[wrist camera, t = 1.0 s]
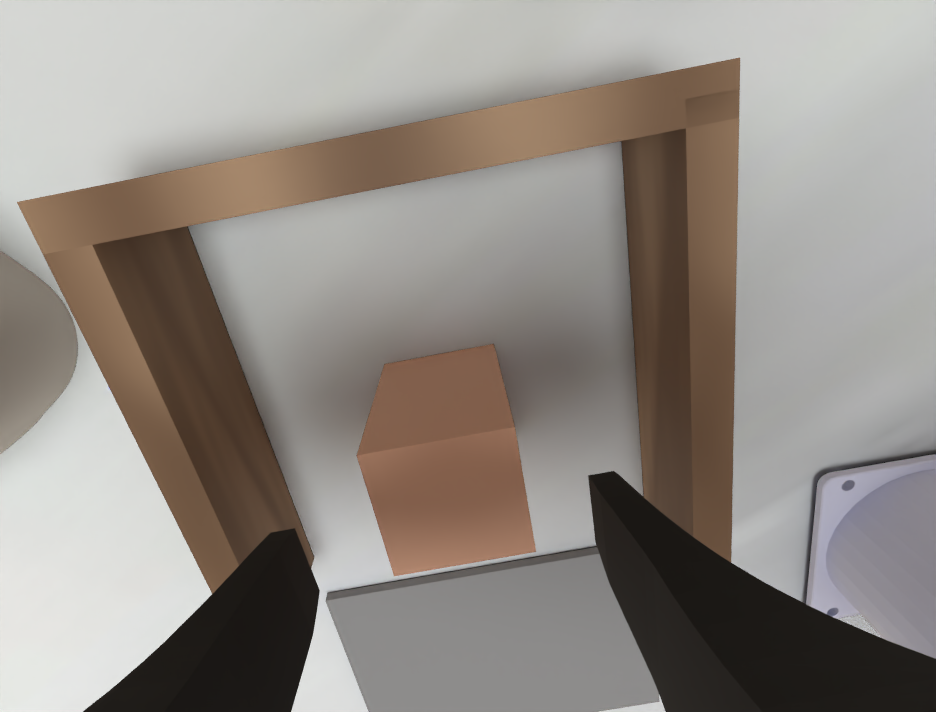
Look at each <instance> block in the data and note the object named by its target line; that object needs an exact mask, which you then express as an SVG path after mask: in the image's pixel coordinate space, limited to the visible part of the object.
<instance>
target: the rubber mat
mask: <svg viewBox="0 0 936 712" xmlns="http://www.w3.org/2000/svg"><path fill="white" fill-rule="evenodd" d="M326 603H327V606H328V608H329V611H330V613H331V616H332V618H333V621H334V624H335V626H336V629H337V631H338V634H339V637H340V639H341V642H342V644H343V647H344V649H345V652H346V655H347V657H348V660H349V662H350V665H351V667H352V670H353V673H354V675H355V678H356V680H357V683H358V685H359V688H360V691H361V693H362V696H363V698H364V701H365V703H366V706H367V709H368V711H369V712H598V711H604V710H610V709H617V708H623V707H629V706H635V705H641V704H647V703H653V702H659V692H658V690H657V687H656V685H655V683H654V680H653V678H652V675H651V673H650V671H649V669H648V667H647V664H646V662H645V660H644V658H643V656H642V654H641V651H640V649H639V647H638V645H637V643H636V641H635V638H634V636H633V634H632V632H631V630H630V628H629V625H628V623H627V621H626V619H625V617H624V615H623V612H622V610H621V608H620V606H619V604H618V601H617V599H616V597H615V595H614V593H613V590H612V588H611V586H610V584H609V581H608V578H607V575H606V572H605V569H604V566H603V563H602V560H601V557H600V554H599V551H598V548H597V547H593V548H587V549H581V550H575V551H570V552H564V553H558V554H552V555H546V556H541V557H535V558H529V559H523V560H517V561H512V562H506V563H500V564H494V565H488V566H483V567H477V568H471V569H465V570H459V571H454V572H448V573H442V574H436V575H430V576H425V577H419V578H413V579H407V580H401V581H396V582H390V583H384V584H378V585H372V586H367V587H361V588H355V589H349V590H343V591H338V592H332V593H328V594H327V598H326Z"/></svg>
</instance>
